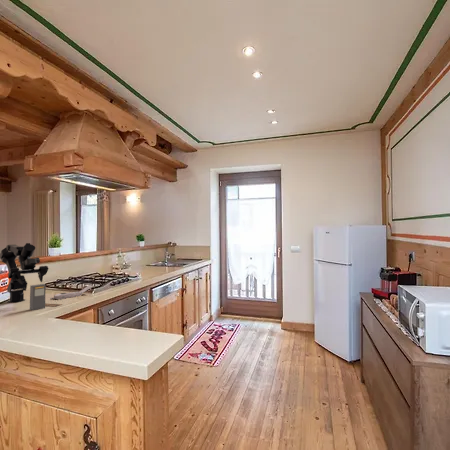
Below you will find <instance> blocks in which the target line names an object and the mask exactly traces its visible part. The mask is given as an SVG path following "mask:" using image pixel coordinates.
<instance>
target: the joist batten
mask: <svg viewBox="0 0 450 450" xmlns="http://www.w3.org/2000/svg"><path fill="white" fill-rule="evenodd" d="M62 305H63V304H62V303H61V304H60V303H47V302H45V307H50V308H51V307H52V308H53V307H54V308H55V307H60V306H62Z"/></svg>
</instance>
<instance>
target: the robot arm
mask: <svg viewBox="0 0 450 450" xmlns="http://www.w3.org/2000/svg"><path fill="white" fill-rule="evenodd" d="M35 250H36V246H35V245H33V244H32V243H30V242H26V243H25V244H24V245H23V246H20V245H17V244H7V245H6V247H5V248H3V249H2V250H1V251H0V261H1V262H2V263H3V264H6V268H7V270H8V273H7V277H8V279H10V280H9V283H8V285H7V289H6V292H7V293H9V300H8V301H7V303H18V302H23V301H25V300H26V299H24V297H25V296H24V295H25V294H24V291H25V292H26V291H27V288H28V281H27V280H26V278H25V275H27V274H37V278H38V280H39V281H40V283H43V277H45V276H46V275H47V272H48V271H49V269H50V268H49V266H47V265H40V266H39V268H36V265H37V264H40V263H41V259H40V257H34V258H33V256H34V253H35ZM16 259H18V263H19V265H20V267H18V266H17V263H16Z"/></svg>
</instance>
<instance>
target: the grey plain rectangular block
mask: <svg viewBox="0 0 450 450" xmlns="http://www.w3.org/2000/svg"><path fill="white" fill-rule="evenodd" d="M29 287H30V288H29V289H30V290H29V310H30V311H37V310H42V309H46V306H45V304H46V289H47V285H46V284H45V283H40V284H31V285H30V286H29Z"/></svg>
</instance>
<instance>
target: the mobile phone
mask: <svg viewBox="0 0 450 450" xmlns="http://www.w3.org/2000/svg"><path fill="white" fill-rule="evenodd" d="M93 286H94V285H90V284H89V285H87V286H86V287H84V288H82V289H81V290H80V291H73V292H72V291H71V292H61V293H57V294H54V295H53V297H50V300H54V299H55V300H65V299H71V298H76V296H77V297H81V296H80V295H83V293H85V292H87V291H88V290H90V289H91V288H93Z"/></svg>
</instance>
